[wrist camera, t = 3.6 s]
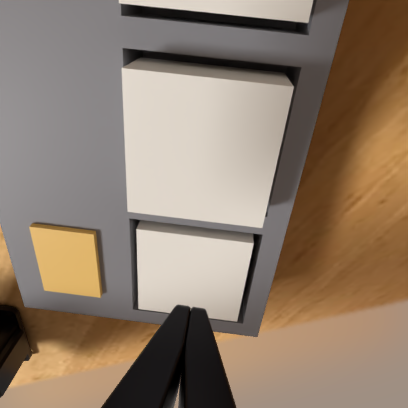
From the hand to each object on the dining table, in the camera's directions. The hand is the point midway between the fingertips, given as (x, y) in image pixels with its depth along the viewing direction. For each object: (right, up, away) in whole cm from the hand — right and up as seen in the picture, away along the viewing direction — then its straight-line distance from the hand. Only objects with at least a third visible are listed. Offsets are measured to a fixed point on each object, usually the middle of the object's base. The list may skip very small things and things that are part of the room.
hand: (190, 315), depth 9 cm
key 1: (0, +1, +10) cm, 10 cm away
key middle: (0, +6, +5) cm, 8 cm away
